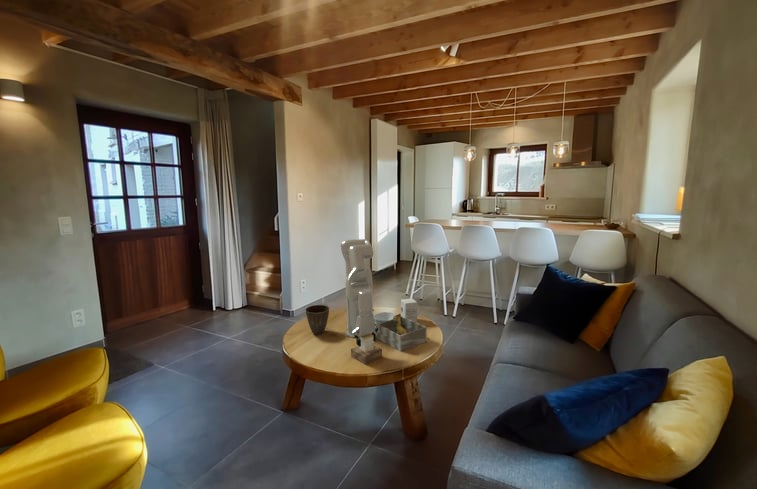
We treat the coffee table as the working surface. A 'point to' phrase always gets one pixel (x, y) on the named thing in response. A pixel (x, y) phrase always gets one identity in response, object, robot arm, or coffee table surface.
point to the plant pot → (317, 318)
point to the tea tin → (366, 342)
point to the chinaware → (383, 317)
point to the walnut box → (366, 354)
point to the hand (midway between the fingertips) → (366, 343)
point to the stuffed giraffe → (399, 325)
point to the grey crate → (401, 342)
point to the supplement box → (409, 309)
